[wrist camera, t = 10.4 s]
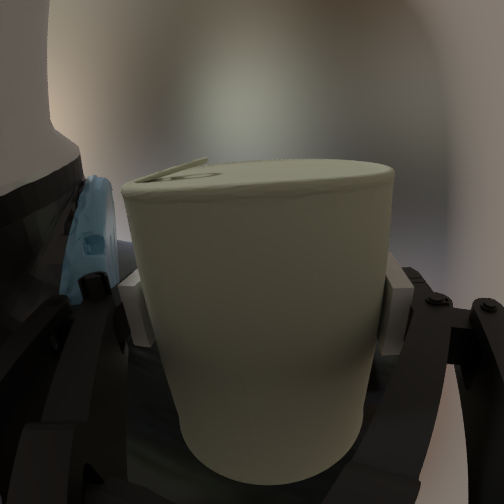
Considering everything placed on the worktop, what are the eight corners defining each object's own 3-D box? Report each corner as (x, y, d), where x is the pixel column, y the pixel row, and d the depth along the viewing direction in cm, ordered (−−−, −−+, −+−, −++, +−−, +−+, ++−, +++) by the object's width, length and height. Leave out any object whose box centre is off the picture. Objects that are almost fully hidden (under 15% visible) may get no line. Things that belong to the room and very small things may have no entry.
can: (184, 363, 18) (149, 162, 14) (329, 345, 19) (333, 147, 15) (177, 494, 9) (62, 186, 5) (390, 456, 10) (460, 160, 6)
